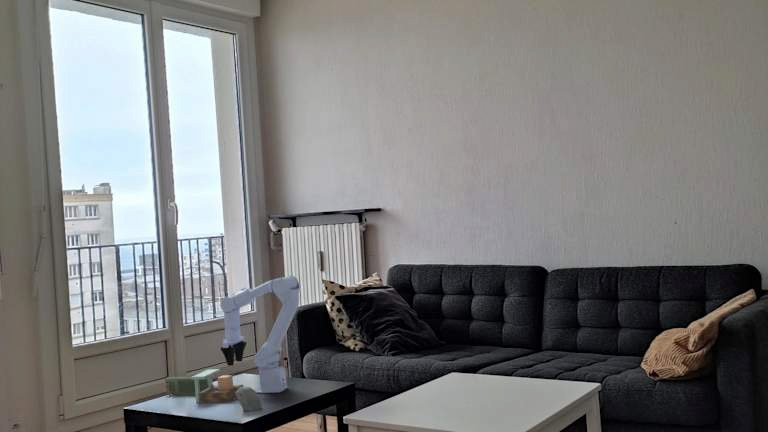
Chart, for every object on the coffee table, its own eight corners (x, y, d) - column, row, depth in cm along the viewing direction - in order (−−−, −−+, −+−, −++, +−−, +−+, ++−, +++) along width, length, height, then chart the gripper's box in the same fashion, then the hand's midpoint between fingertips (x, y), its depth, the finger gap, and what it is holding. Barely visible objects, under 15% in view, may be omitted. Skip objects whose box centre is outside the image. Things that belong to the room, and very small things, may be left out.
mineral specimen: (244, 404, 275) (246, 381, 275) (263, 411, 271) (266, 388, 270) (229, 409, 269) (232, 386, 268) (249, 416, 265) (251, 392, 264)
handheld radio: (171, 393, 310) (226, 393, 302) (166, 395, 307) (222, 395, 298) (169, 376, 310) (224, 375, 301) (164, 378, 307) (220, 377, 298)
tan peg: (234, 396, 293) (232, 375, 293) (229, 399, 289) (227, 377, 289) (224, 397, 294) (222, 375, 294) (219, 399, 290) (217, 377, 290)
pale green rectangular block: (222, 394, 299) (220, 369, 299) (206, 402, 286) (203, 376, 286) (210, 394, 300) (208, 369, 300) (193, 403, 288) (191, 376, 288)
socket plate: (243, 393, 296) (243, 384, 296) (229, 401, 285) (228, 392, 285) (214, 394, 299) (213, 385, 299) (199, 402, 288) (198, 393, 288)
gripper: (231, 325, 311) (233, 359, 311) (214, 331, 297) (216, 367, 297) (247, 324, 310) (250, 359, 310) (231, 330, 295) (234, 367, 296)
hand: (234, 363), depth 303 cm, fingers open, 7 cm apart
